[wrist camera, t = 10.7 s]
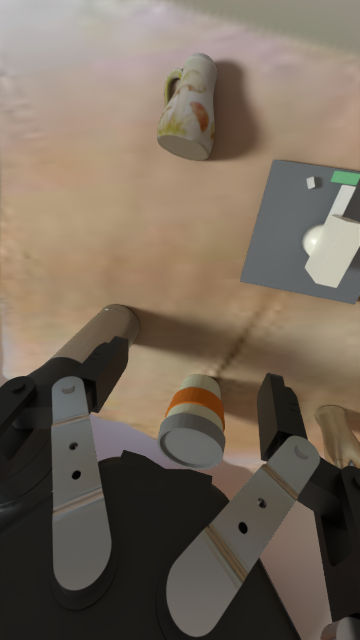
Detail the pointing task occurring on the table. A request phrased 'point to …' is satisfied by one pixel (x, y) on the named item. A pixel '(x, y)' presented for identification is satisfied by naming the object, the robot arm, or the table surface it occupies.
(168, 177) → the table surface
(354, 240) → the peg knob
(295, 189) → the dial board
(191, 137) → the mug
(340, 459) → the beer glass
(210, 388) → the reusable coffee cup
